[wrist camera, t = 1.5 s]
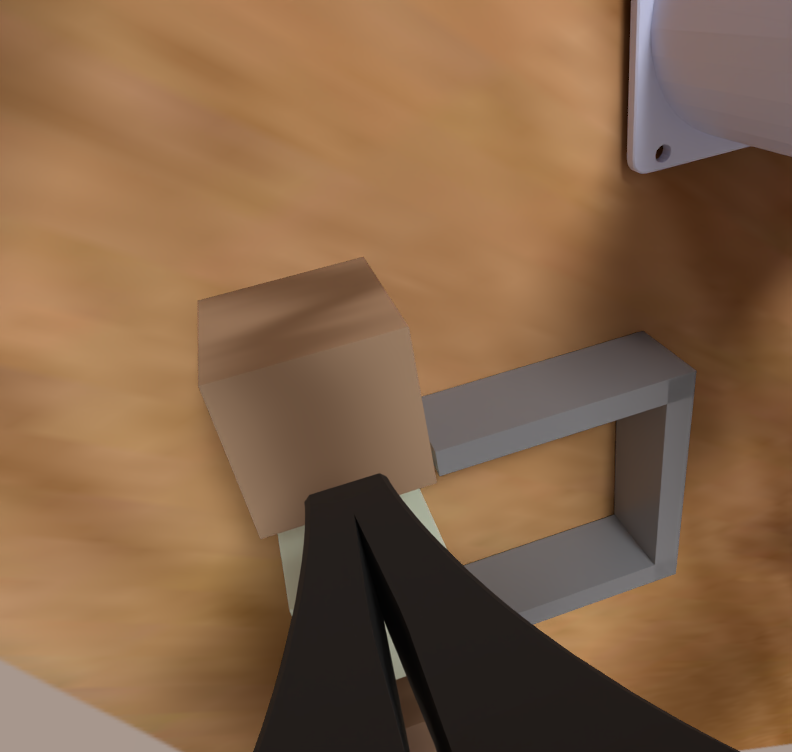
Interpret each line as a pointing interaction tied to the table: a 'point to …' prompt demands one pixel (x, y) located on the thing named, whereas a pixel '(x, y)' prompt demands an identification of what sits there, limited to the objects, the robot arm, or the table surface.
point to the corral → (564, 415)
